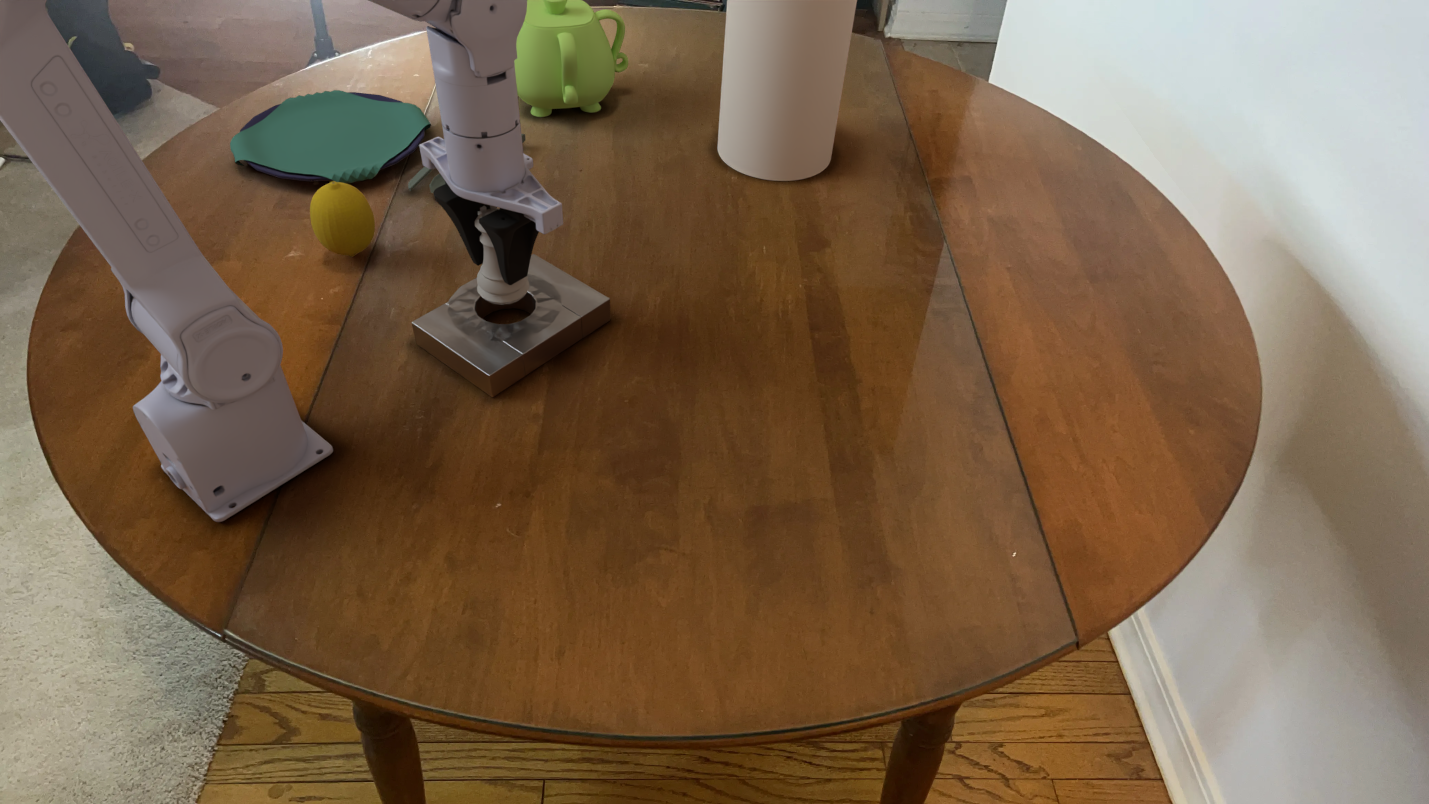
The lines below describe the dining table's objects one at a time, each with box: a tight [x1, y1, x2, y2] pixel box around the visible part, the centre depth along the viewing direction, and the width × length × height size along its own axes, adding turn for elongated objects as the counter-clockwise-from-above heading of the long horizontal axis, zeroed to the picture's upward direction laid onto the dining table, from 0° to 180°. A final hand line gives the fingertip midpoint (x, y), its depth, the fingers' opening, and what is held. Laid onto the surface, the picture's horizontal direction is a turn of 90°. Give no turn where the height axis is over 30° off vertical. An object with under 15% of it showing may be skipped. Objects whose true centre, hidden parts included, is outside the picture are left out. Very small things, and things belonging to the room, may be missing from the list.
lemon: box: [309, 180, 376, 258], centre depth 85 cm, size 6×6×8 cm
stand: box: [411, 253, 612, 398], centre depth 80 cm, size 14×11×2 cm
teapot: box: [514, 0, 629, 118], centre depth 109 cm, size 16×14×13 cm
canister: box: [716, 0, 858, 182], centre depth 100 cm, size 14×14×20 cm
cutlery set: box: [229, 89, 526, 194], centre depth 100 cm, size 20×30×2 cm, turn 75°
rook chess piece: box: [475, 205, 529, 305], centre depth 76 cm, size 4×4×8 cm
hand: (500, 269), depth 77 cm, fingers closed on rook chess piece, 3 cm apart
